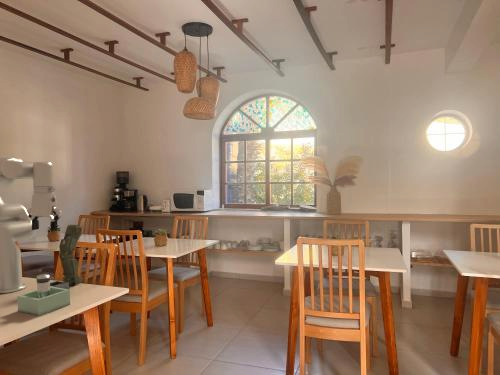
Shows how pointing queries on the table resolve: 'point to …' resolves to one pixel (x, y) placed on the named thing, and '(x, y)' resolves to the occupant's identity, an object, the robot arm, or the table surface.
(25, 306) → the bin
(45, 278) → the strut
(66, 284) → the socket block
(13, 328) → the table surface
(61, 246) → the mechanical leg
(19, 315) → the table surface
